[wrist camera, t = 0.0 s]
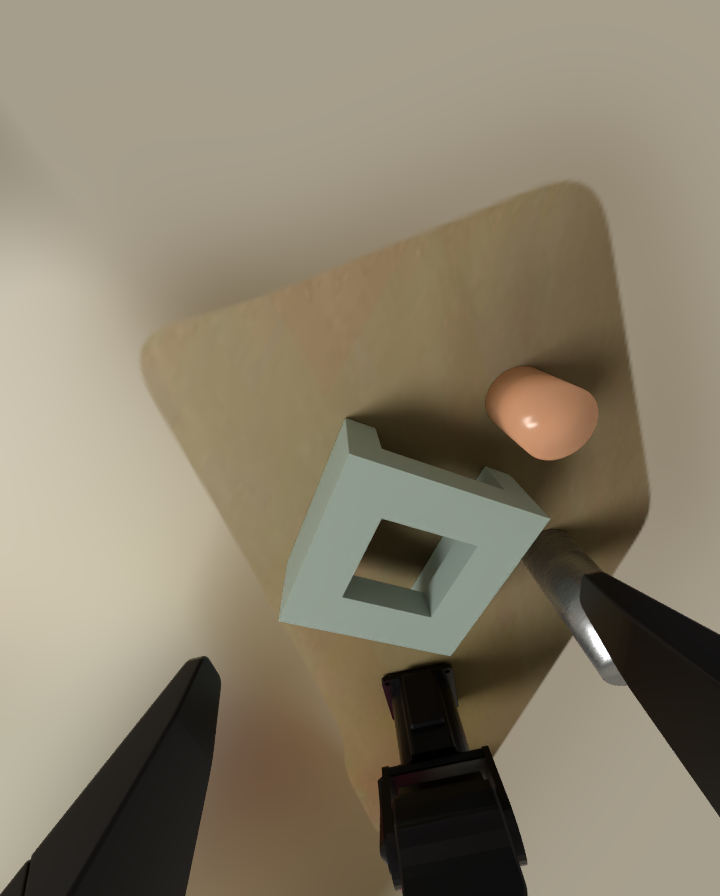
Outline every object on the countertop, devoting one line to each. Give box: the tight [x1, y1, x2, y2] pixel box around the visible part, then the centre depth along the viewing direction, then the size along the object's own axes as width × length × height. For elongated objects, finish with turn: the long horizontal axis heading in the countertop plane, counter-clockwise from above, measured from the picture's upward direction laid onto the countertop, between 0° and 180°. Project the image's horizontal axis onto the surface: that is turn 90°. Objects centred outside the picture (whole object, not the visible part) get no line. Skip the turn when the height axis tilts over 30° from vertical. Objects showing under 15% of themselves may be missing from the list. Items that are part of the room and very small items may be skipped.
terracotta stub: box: [485, 366, 598, 460], centre depth 20 cm, size 4×4×4 cm
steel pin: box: [522, 529, 627, 686], centre depth 23 cm, size 4×4×9 cm
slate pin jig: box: [278, 418, 550, 656], centre depth 23 cm, size 12×12×5 cm
